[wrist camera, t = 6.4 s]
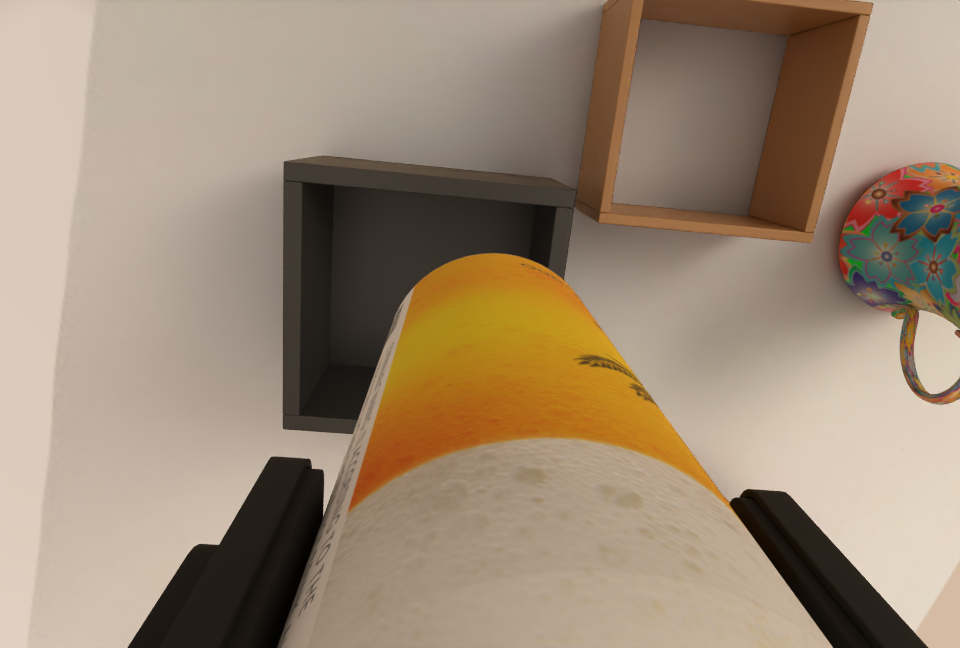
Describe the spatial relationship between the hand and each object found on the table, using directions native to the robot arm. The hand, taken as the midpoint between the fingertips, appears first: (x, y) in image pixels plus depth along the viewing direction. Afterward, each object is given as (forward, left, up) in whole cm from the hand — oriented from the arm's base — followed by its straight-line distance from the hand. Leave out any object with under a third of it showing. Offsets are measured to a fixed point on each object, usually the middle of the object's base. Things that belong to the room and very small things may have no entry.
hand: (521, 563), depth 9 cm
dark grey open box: (+2, -3, -27) cm, 27 cm away
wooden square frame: (-8, +10, -27) cm, 30 cm away
